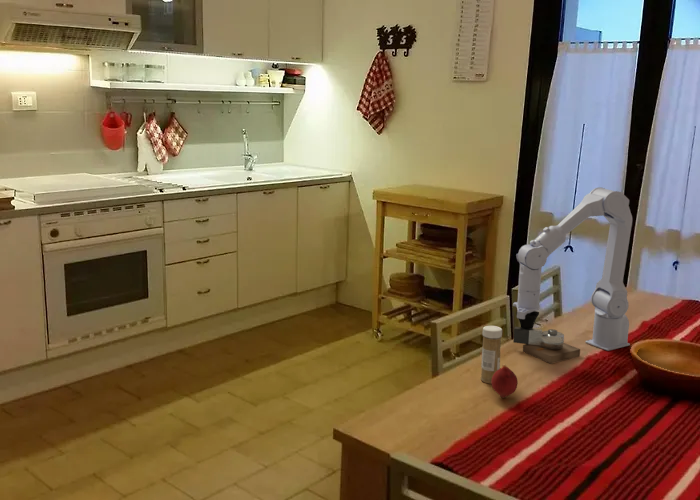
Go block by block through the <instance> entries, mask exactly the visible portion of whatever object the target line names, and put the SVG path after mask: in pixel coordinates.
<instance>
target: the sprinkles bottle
mask: <svg viewBox="0 0 700 500" xmlns="http://www.w3.org/2000/svg"><path fill="white" fill-rule="evenodd" d="M482 337H483V338H482V347H481V349H482V350H481V366H480V367H481V373H480V380H481V381H482V382H484V383H485V384H490V385H492V384H491V380H492V377H493V375H494V373H495V372H496V371H497V370H499V369H500V368H501V367H500V366H501V340H502V337H503V329H502V328H501V327H499V326H496V325H486V326H484V327H483V328H482Z"/></svg>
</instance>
